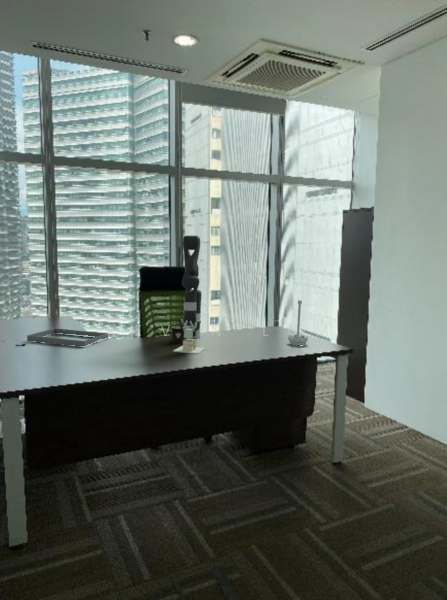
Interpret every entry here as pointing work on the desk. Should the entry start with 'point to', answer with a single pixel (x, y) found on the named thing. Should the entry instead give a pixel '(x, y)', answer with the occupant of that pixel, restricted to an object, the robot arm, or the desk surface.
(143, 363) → the desk surface
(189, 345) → the maple block
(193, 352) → the desk pad
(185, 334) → the sage block
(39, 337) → the document tray
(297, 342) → the flag stand
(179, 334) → the coffee mug
